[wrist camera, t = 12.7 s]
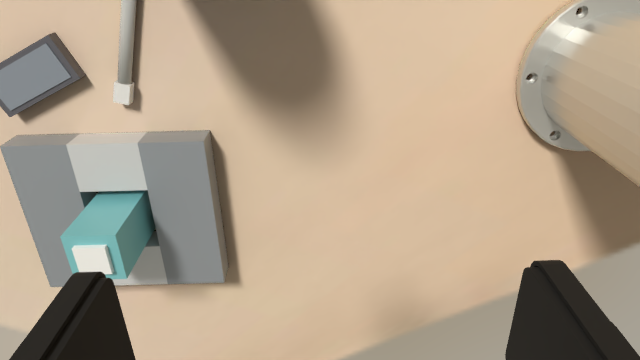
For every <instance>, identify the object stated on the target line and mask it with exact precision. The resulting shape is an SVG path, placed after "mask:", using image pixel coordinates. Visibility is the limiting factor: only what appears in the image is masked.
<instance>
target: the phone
mask: <svg viewBox="0 0 640 360" xmlns="http://www.w3.org/2000/svg"><path fill="white" fill-rule="evenodd" d="M85 75H86V74H85V73H84V72H83V70H82V69H81V68H80V66H79V65H78V64H77V62H76V61H75V59H74V58H73V57H72V55H71V54H70V53H69V51H68V50H67V48H66V47H65V46H64V44H63V43H62V42H61V40H60V39H59V37H58V36H57V35H56V33H52V34H49V35H47V36H45V37H44V38H42V39H40V40H39V41H37V42H35V43H33V44H32V45H30V46H28V47H27V48H25V49H23V50H22V51H20V52H18V53H16V54H15V55H13V56H11V57H10V58H8V59H6V60H5V61H3V62H1V63H0V106H1V107H2V109H3V110H4V111H5V112H6V113H7V115H8V116H9V117H12V116H13V115H15V114H17V113H19V112H21V111H22V110H24V109H26V108H28V107H30V106H31V105H33V104H35V103H37V102H39V101H41V100H42V99H44V98H46V97H48V96H50V95H51V94H53V93H55V92H57V91H59V90H60V89H62V88H64V87H66V86H68V85H69V84H71V83H73V82H75V81H77V80H78V79H80V78H82V77H84V76H85Z"/></svg>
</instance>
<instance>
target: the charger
mask: <svg viewBox="0 0 640 360" xmlns="http://www.w3.org/2000/svg"><path fill="white" fill-rule="evenodd" d="M155 228H156V227H155V222H154V218H153V213H152V208H151V204H150V199H149V194H148V190H136V191H99V192H98V193H97V195H96V196H95V197H94V198H93V199H92V200H91V202H90V203H89V204H88V205H87V206H86V207H85V209H84V210H83V211H82V212H81V213H80V214H79V216H78V217H77V218H76V219H75V220H74V221H73V222H72V224H71V225H70V226H69V227H68V228H67V229H66V231H65V232H64V233H63V234H62V235H61V236H60V238H61V241H62V244H63V247H64V250H65V253H66V256H67V259H68V261H69V264H70V267H71V270H72V273H73V274H74V273H76V272H103V273H104V274H105V276H106V278H111V279H127V278H128V276H129V275H130V273H131V271H132V269H133V267H134V266H135V264H136V262H137V260H138V258H139V257H140V255H141V253H142V251H143V249H144V248H145V246H146V244H147V242H148V240H149V239H150V237H151V235H152V233H153V231H154V230H155Z"/></svg>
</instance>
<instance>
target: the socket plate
mask: <svg viewBox="0 0 640 360" xmlns="http://www.w3.org/2000/svg"><path fill="white" fill-rule="evenodd" d="M0 148H1V151H2V154H3V157H4V159H5V162H6V165H7V168H8V170H9V173H10V176H11V179H12V181H13V184H14V187H15V190H16V193H17V195H18V198H19V201H20V204H21V206H22V209H23V212H24V215H25V217H26V220H27V223H28V226H29V228H30V231H31V234H32V237H33V240H34V242H35V245H36V248H37V251H38V253H39V256H40V259H41V262H42V264H43V267H44V270H45V273H46V275H47V278H48V281H49V284H50V287H63V286H64V285H65V283H66V282H67V281H68V279H69V278H70V277H71V276H72V275H73V273H72V270H71V267H70V264H69V261H68V259H67V256H66V253H65V250H64V247H63V244H62V241H61V238H60V236H61V235H62V234H63V233H64V232H65V231H66V229H67V228H68V227H69V226H70V225H71V224H72V222H73V221H74V220H75V219H76V218H77V217H78V216H79V214H80V213H81V212H82V211H83V210H84V209H85V207H86V206H87V205H88V204H89V203H90V202H91V200H92V199H93V198H94V197H95V196H96V192H97V191H136V190H148V194H149V199H150V204H151V208H152V213H153V218H154V222H155V227H156V231H157V232H153V233H152V235H151V237H150V239H149V240H148V242H147V244H146V246H145V248H144V249H143V251H142V253H141V255H140V257H139V258H138V260H137V262H136V264H135V266H134V267H133V269H132V271H131V273H130V275H129V276H128V278H127V279H112V280H113V282H114V285H151V284H191V283H224V282H225V278H226V275H227V271H228V267H229V265H228V258H227V251H226V244H225V237H224V229H223V222H222V215H221V208H220V201H219V193H218V186H217V179H216V172H215V164H214V157H213V150H212V143H211V136H210V130H204V131H165V132H126V133H87V134H47V135H17V136H15V137H14V138H12V139H11V140H9V141H8V142H6V143H5V144H3V145H1V146H0Z"/></svg>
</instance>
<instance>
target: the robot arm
mask: <svg viewBox="0 0 640 360" xmlns="http://www.w3.org/2000/svg"><path fill="white" fill-rule="evenodd" d="M578 8H579V11H578V13H577V14H576V11H577V9H578ZM529 74H530V77H529V78H527V76H528V75H529ZM526 78H527V79H526ZM516 96H517V102H518V107H519V110H520V112H521V114H522V117H523V119H524V121H525V122H526V123H527V125H528V126H529V127H530V129H531V130H532V131H533V132H535V133H536V134H537V135H538V136H539V137H540V138H541V139H543V140H544V141H546V142H547V143H549V144H550V145H553V146H556V147H558V148H561V149H564V150H571V151H592V152H594V153H595V154H596V155H598V156H599V157H600V158H602V159H603V160H604V161H606V162H607V163H608V164H610V165H611V166H612V167H614V168H615V169H616V170H618V171H619V172H620V173H622V174H623V175H624V176H626V177H627V178H628V179H630V180H631V181H632V182H634V183H635V184H636V185H638V186H639V187H640V0H573V1H572V2H570V3H569V4H567V5H565V6H564V7H562V8H561V9H560V10H558V11H557V12H556V13H555V14H554V15H553V16H551V17H550V18H549V19H548V20H547V21H546V22H545V23H544V24H543V26H542V27H541V28H540V29H539V30H538V31H537V33H536V34H535V35H534V37H533V39H532V40H531V42H530V43H529V45H528V47H527V48H526V50H525V53H524V55H523V58H522V60H521V63H520V66H519V70H518V75H517V80H516ZM9 360H135V356H134V353H133V349H132V346H131V342H130V338H129V335H128V331H127V328H126V324H125V321H124V317H123V314H122V310H121V307H120V303H119V299H118V296H117V292H116V289H115V285H114V282H113V280H112V279H111V278H106V276H105V274H104V273H103V272H76V273H74V274H73V275H72V276H71V277H70V278H69V279H68V281H67V282H66V283H65V285H64V286H63V288H62V289H61V290H60V292H59V293H58V294H57V296H56V297H55V298H54V300H53V301H52V303H51V304H50V305H49V307H48V308H47V309H46V311H45V312H44V314H43V315H42V316H41V318H40V319H39V320H38V322H37V323H36V324H35V326H34V327H33V329H32V330H31V331H30V333H29V334H28V335H27V337H26V338H25V339H24V341H23V342H22V343H21V344H20V346H19V347H18V349H17V350H16V351H15V353H14V354H13V356H12V357H11V358H10V359H9ZM506 360H640V356H639V355H638V354H637V353H636V351H635V350H634V349H633V348H632V346H631V345H630V344H629V343H628V341H627V340H626V339H625V337H624V336H623V335H622V334H621V332H620V331H619V330H618V329H617V327H616V326H615V325H614V324H613V323H612V322H610V321H609V319H608V318H607V317H606V315H605V314H604V313H603V312H602V311H601V309H600V308H599V306H598V305H597V304H596V303H595V301H594V300H593V299H592V297H591V296H590V295H589V294H588V292H587V291H586V290H585V289H584V287H583V286H582V285H581V283H580V282H579V281H578V280H577V278H576V277H575V276H574V274H573V273H572V272H571V271H570V269H569V268H568V267H567V265H566V264H565V263H564V262H563V261H560V260H548V261H534V262H533V263H532V264H531V267H527V268H525V269H524V271H523V275H522V280H521V284H520V289H519V293H518V298H517V303H516V308H515V312H514V316H513V321H512V326H511V330H510V335H509V340H508V344H507V349H506Z"/></svg>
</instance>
